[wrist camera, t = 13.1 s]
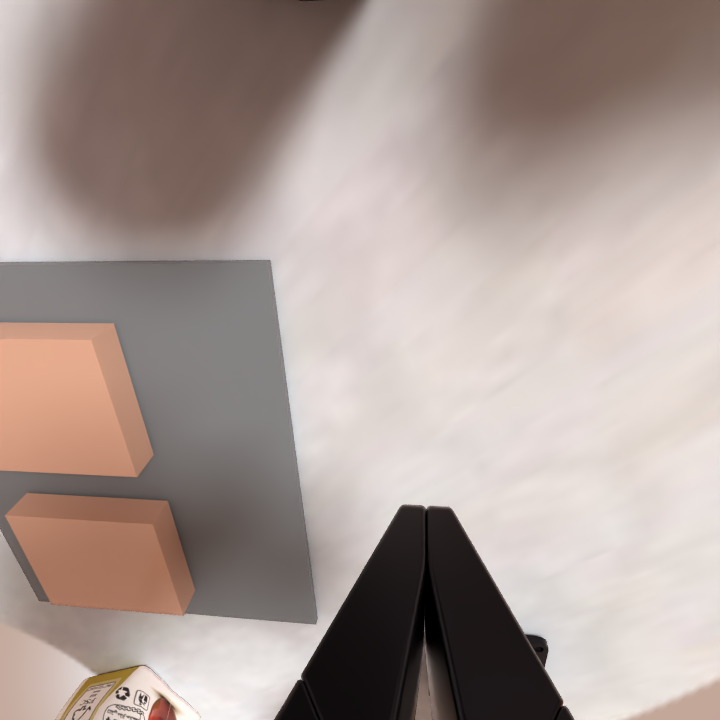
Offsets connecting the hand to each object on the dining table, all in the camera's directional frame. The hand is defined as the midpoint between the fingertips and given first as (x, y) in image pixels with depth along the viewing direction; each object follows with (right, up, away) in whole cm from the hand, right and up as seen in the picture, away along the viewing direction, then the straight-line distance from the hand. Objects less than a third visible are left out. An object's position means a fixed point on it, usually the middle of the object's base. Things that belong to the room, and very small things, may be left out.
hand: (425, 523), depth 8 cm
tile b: (-11, +1, +13) cm, 17 cm away
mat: (-13, -3, +17) cm, 22 cm away
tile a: (-11, -8, +18) cm, 22 cm away
